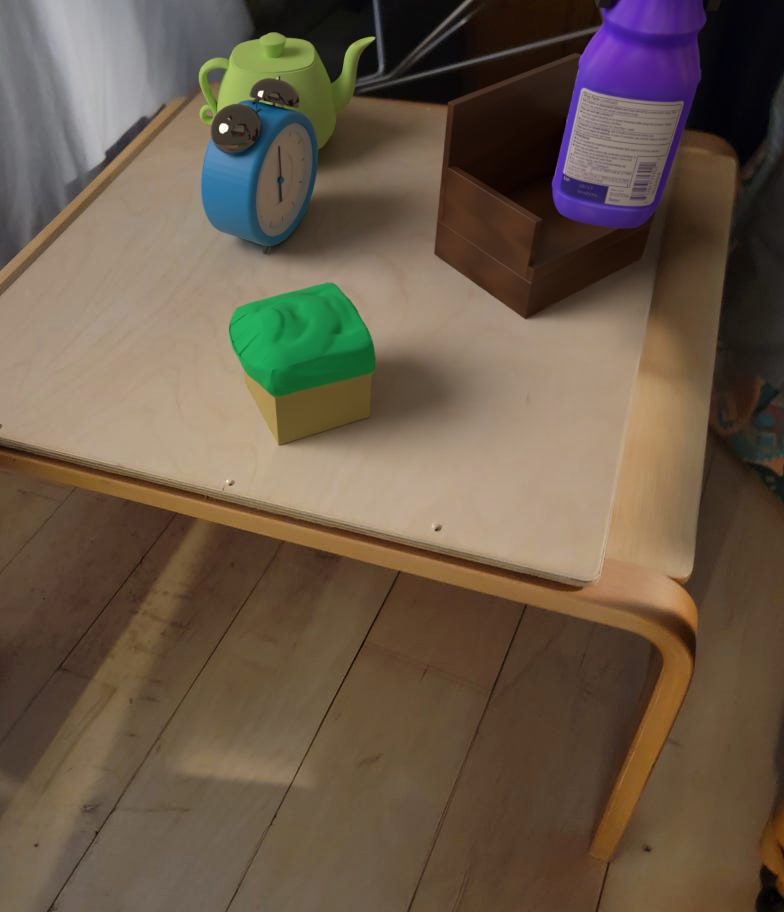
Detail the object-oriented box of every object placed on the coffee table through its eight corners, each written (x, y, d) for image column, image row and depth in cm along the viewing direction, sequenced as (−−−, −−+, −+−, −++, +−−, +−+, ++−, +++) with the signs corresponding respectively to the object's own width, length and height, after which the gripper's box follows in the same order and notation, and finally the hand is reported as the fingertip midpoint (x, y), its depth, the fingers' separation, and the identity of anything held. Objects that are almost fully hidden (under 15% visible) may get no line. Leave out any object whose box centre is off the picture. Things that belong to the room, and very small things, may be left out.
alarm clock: (256, 273, 91) (244, 131, 80) (205, 256, 93) (187, 116, 82) (321, 208, 98) (318, 71, 87) (272, 194, 100) (264, 59, 89)
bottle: (659, 196, 63) (744, -81, 50) (654, 241, 60) (744, -45, 47) (553, 181, 65) (609, -92, 52) (542, 224, 61) (600, -58, 48)
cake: (224, 382, 80) (212, 290, 73) (335, 350, 82) (335, 257, 75) (262, 457, 74) (254, 365, 66) (381, 420, 76) (386, 327, 69)
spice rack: (642, 258, 91) (687, 103, 79) (524, 319, 85) (555, 162, 73) (547, 201, 98) (576, 52, 86) (433, 254, 92) (447, 101, 80)
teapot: (296, 101, 115) (292, -4, 106) (373, 141, 108) (377, 32, 98) (193, 145, 108) (179, 37, 99) (268, 191, 101) (260, 79, 91)
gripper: (599, -384, 38) (532, 29, 51) (960, -390, 37) (800, 35, 49) (581, -402, 43) (524, -23, 56) (898, -407, 42) (767, -18, 54)
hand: (654, 2), depth 52 cm, fingers closed on bottle, 5 cm apart
